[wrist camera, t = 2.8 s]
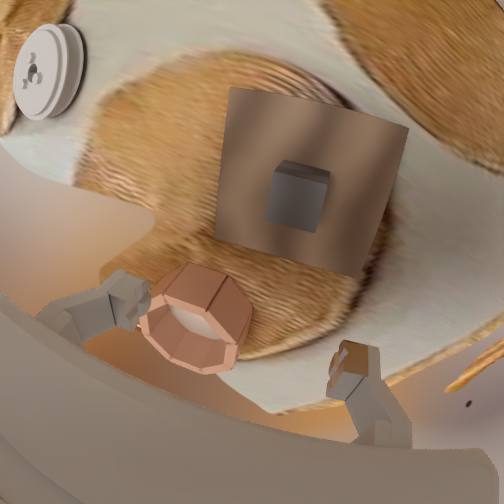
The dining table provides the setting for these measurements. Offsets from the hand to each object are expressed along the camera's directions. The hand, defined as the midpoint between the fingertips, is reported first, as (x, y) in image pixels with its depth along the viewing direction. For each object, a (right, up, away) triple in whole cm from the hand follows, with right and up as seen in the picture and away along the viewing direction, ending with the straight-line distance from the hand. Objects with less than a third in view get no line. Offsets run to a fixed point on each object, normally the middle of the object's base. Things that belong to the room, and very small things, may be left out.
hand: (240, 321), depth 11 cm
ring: (-5, -4, +25) cm, 26 cm away
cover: (+5, +9, +14) cm, 17 cm away
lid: (-24, +26, +13) cm, 38 cm away
